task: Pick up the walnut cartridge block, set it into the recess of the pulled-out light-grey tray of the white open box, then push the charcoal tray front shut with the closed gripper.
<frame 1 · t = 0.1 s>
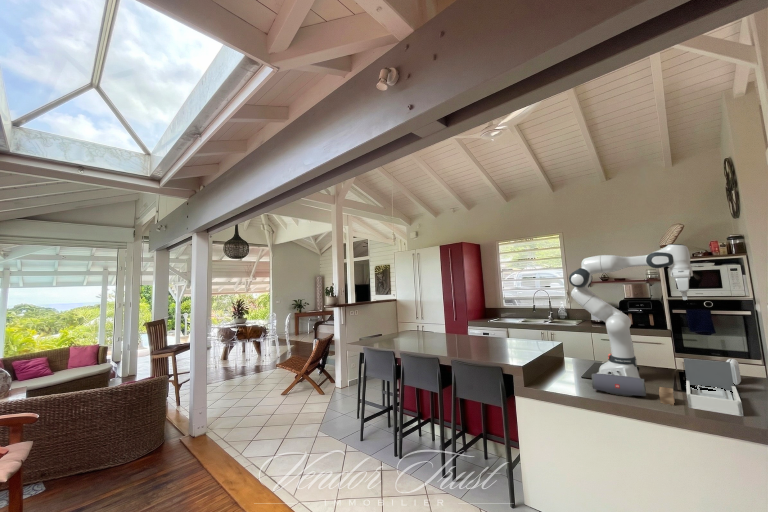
hand: (685, 298, 168), 48 cm above the countertop, fingers open, 8 cm apart
cartridge: (667, 402, 154), on the countertop
bluetooth speaker: (619, 394, 167), on the countertop
white open box: (713, 403, 149), on the countertop
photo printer: (734, 382, 169), on the countertop
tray: (709, 380, 156), point 8 cm above the countertop, slide at 8.0 cm
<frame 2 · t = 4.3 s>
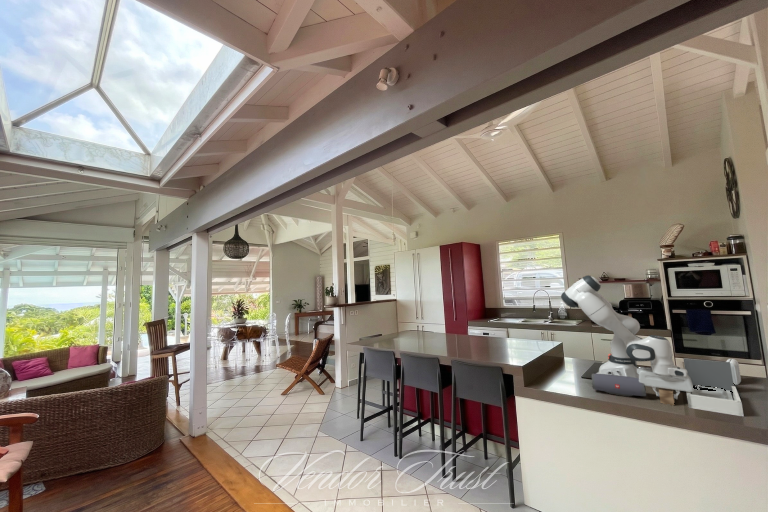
hand: (667, 397, 154), 2 cm above the countertop, fingers closed on cartridge, 5 cm apart
cartridge: (667, 402, 154), on the countertop, touching gripper
everything else where it was.
when the fingers open (5 cm above the countertop, at t = 12.7 s): cartridge drops 2 cm, resting on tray.
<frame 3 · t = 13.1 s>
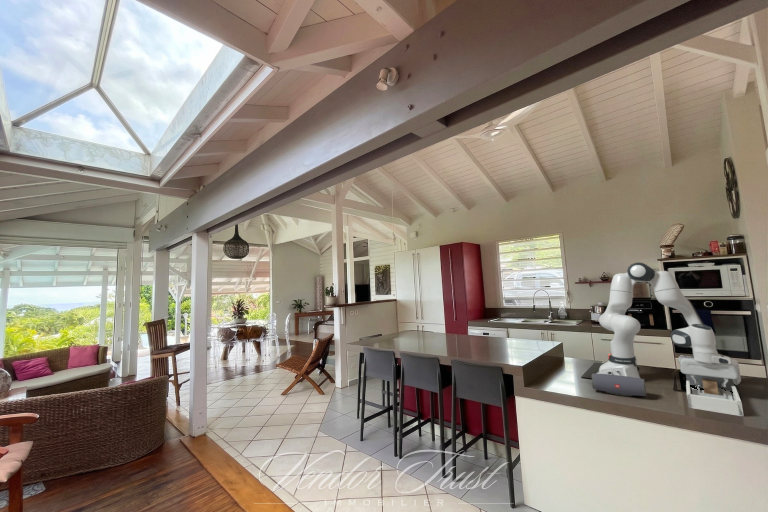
hand: (709, 384, 157), 5 cm above the countertop, fingers open, 8 cm apart
cartridge: (711, 393, 156), point 1 cm above the countertop, touching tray
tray: (709, 380, 156), point 8 cm above the countertop, slide at 8.0 cm, touching cartridge
everything else where it was.
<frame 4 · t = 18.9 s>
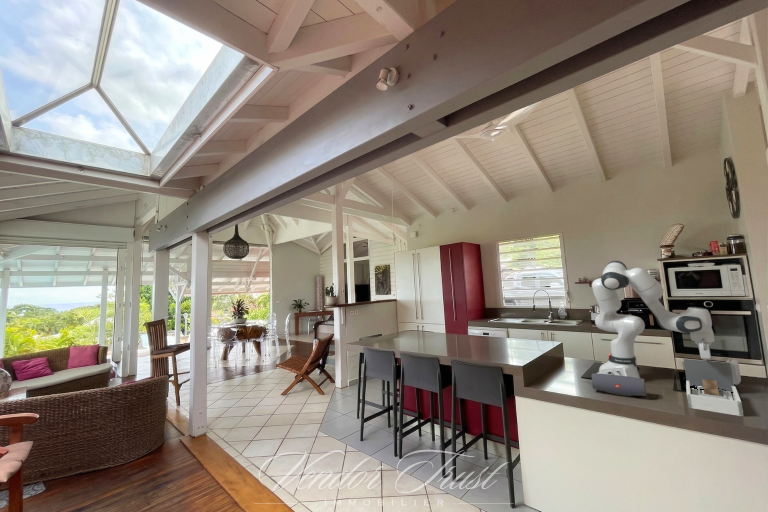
hand: (706, 363, 165), 13 cm above the countertop, fingers closed
cartridge: (711, 394, 155), point 1 cm above the countertop, touching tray
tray: (709, 381, 155), point 8 cm above the countertop, slide at 6.7 cm, touching cartridge, gripper
everything else where it was.
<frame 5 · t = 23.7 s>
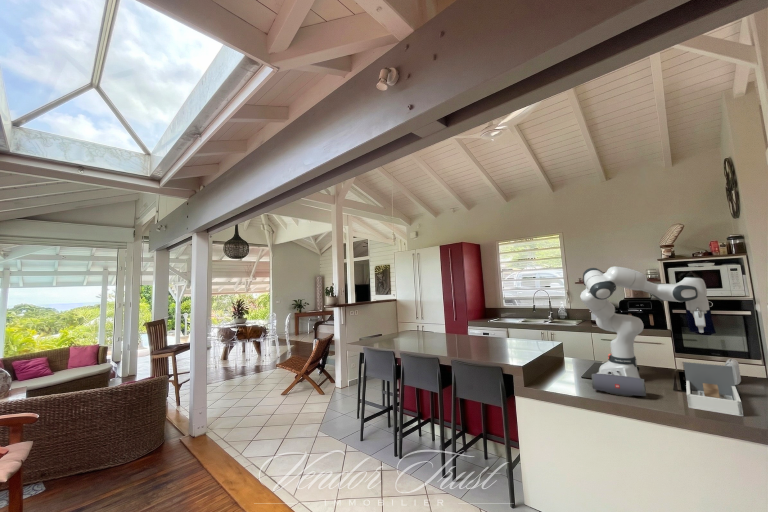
hand: (701, 332, 168), 29 cm above the countertop, fingers closed
cartridge: (712, 398, 151), point 1 cm above the countertop, touching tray
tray: (710, 385, 151), point 8 cm above the countertop, slide at 0.0 cm, touching cartridge
everything else where it was.
at the end: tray slide at 0.0 cm; cartridge inside the target area on the white open box (2.1 cm from its centre), point 1.2 cm above the white open box's base; cartridge tilted 0° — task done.
